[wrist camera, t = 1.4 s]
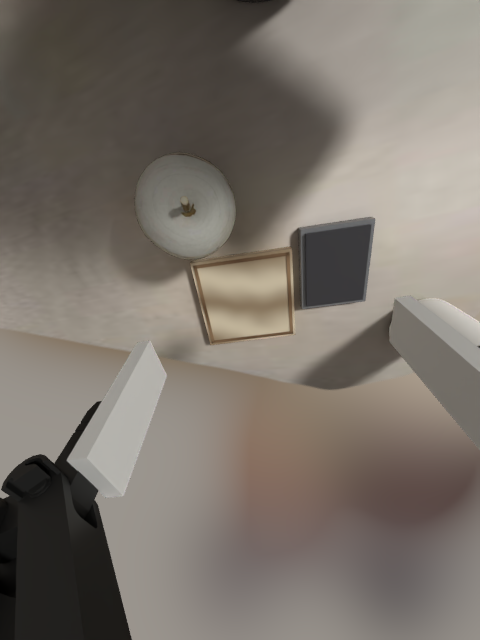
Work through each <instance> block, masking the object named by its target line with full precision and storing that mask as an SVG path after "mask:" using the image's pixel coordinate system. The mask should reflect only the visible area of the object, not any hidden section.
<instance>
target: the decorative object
mask: <svg viewBox="0 0 480 640" xmlns="http://www.w3.org/2000/svg"><path fill="white" fill-rule="evenodd" d="M134 200H135V201H134V205H135V213H136V216H137V220H138V223H139V224H140V227H141V229H142V231H143V232H144V234H145V235H146V237H147V238H148V239H150V240H151V242H153V243H154V244H155V245H156V246H157V247H159V248H160V249H162V250H163V251H164V252H166V253H168V254H169V255H172V256H175V257H177V258H181V259H186V260H192V259H200V258H204V257H206V256H209V255H211V254H213V253H214V252H215V251H216V250H218V249H219V248H220V247H221V246H222V245H223V244H224V243H225V242H226V241H227V239H228V238H229V236H230V234H231V232H232V229H233V226H234V223H235V217H236V204H235V199H234V194H233V192H232V189H231V187H230V185H229V183H228V181H227V179H226V178H225V176H224V175H223V174H222V173H221V171H220V170H219V169H218V168H216V167H215V166H214V165H213V164H212V163H210V162H208V161H207V160H205V159H203V158H201V157H198V156H195V155H192V154H189V153H182V152H174V153H170V154H166V155H164V156H162V157H160V158H158V159H156V160H154V161H153V162H152V163H151V164H150V165H149V166H148V167H147V168H146V169H145V170H144V171H143V173H142V175H141V176H140V178H139V181H138V183H137V186H136V191H135V198H134Z"/></svg>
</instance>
